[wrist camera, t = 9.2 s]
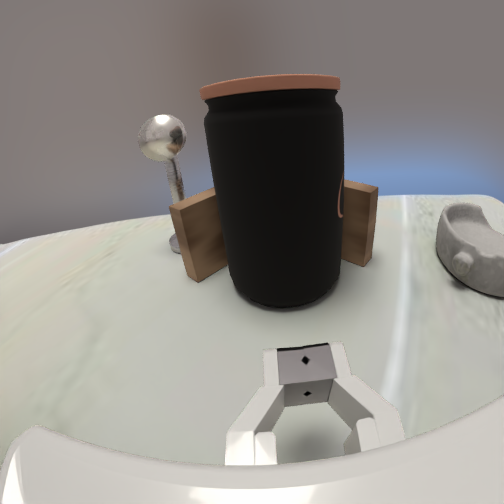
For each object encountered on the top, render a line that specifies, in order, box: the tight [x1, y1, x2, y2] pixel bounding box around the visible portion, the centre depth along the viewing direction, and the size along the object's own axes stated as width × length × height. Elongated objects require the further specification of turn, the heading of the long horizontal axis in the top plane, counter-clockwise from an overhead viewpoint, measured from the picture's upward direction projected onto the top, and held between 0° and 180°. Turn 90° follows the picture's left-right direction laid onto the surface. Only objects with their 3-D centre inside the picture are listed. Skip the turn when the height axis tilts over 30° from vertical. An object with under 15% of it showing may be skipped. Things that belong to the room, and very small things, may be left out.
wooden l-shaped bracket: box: [169, 180, 378, 282], centre depth 31 cm, size 20×13×8 cm, turn 90°
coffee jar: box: [200, 74, 344, 308], centre depth 23 cm, size 11×11×18 cm
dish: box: [436, 203, 504, 297], centre depth 23 cm, size 14×14×5 cm
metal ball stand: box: [138, 115, 186, 254], centre depth 31 cm, size 5×5×16 cm
